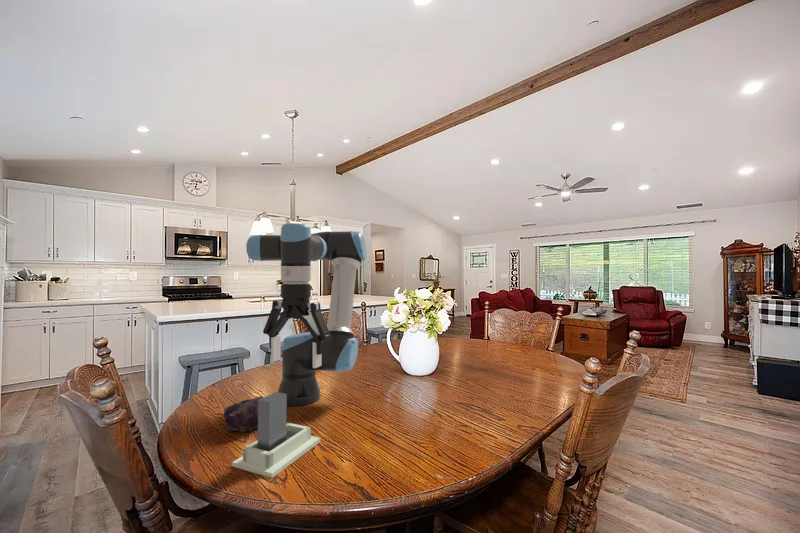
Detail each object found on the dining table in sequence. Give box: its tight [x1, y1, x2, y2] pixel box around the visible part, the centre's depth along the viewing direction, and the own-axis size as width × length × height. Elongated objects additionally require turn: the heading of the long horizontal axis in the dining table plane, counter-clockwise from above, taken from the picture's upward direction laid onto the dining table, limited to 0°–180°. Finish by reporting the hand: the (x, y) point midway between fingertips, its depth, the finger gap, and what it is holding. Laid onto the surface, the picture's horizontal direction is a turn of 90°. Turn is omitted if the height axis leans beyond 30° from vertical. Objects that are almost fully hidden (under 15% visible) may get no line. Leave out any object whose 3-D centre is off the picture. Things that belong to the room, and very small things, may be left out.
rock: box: [223, 395, 264, 433], centre depth 102 cm, size 12×9×10 cm
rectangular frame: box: [231, 422, 321, 479], centre depth 88 cm, size 12×18×4 cm, turn 158°
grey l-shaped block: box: [257, 391, 297, 452], centre depth 88 cm, size 4×11×14 cm, turn 158°
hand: (295, 363), depth 92 cm, fingers open, 13 cm apart
